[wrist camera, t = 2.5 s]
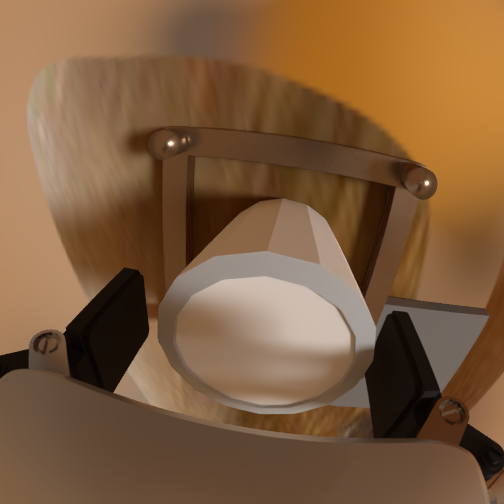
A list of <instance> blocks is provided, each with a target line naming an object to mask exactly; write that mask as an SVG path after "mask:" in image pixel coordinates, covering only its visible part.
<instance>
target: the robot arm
mask: <svg viewBox="0 0 504 504" xmlns="http://www.w3.org/2000/svg"><path fill="white" fill-rule="evenodd" d="M148 334H149V323H148V315H147V307H146V298H145V288H144V278H143V275H141V274H140V272H139V271H138V270H134V269H130V268H124V269H122V270H121V271H120V272H119V273H118V274H117V275H116V276H115V277H114V278H113V279H112V280H111V281H110V282H109V283H108V284H107V285H106V286H105V287H104V288H103V289H102V290H101V291H100V292H99V293H98V294H97V295H96V296H95V297H94V298H93V299H92V300H91V301H90V303H89V304H88V305H87V306H86V307H85V308H84V309H83V310H82V311H81V312H80V313H79V314H78V315H77V316H76V317H75V318H74V319H73V320H72V322H71V323H70V324H69V325H68V326H67V327H66V331H65V332H64V333H63V334H62V333H61V332H59V331H58V330H52V329H51V330H44V331H41V332H39V333H37V334H36V335H35V336H34V337H33V338H32V339H31V341H30V344H29V349H27V350H22V351H18V352H14V353H9V354H5V355H1V356H0V504H504V451H503V449H502V447H501V446H500V445H499V444H497V443H496V442H494V441H493V440H491V439H490V438H488V437H487V436H485V435H484V434H483V433H481V432H480V431H478V430H476V429H475V428H474V427H472V426H471V425H469V424H468V420H469V411H468V409H467V407H466V406H465V404H464V403H463V402H462V401H461V400H459V399H458V398H455V397H452V396H444V397H442V396H441V393H440V388H439V385H438V383H437V380H436V377H435V375H434V372H433V370H432V367H431V365H430V362H429V360H428V357H427V355H426V352H425V350H424V347H423V345H422V343H421V340H420V338H419V336H418V333H417V331H416V329H415V327H414V324H413V322H412V320H411V318H410V316H409V314H408V312H403V311H395V310H394V311H392V313H391V314H388V315H387V316H386V318H385V321H384V323H383V326H382V328H381V330H380V333H379V335H378V337H377V340H376V342H375V348H374V358H373V361H372V363H371V364H370V366H369V367H368V369H367V370H366V372H365V373H364V374H365V380H366V386H367V392H368V398H369V404H370V411H371V418H372V425H373V432H374V438H340V437H321V436H308V435H298V434H288V433H280V432H272V431H265V430H258V429H252V428H246V427H240V426H234V425H229V424H224V423H219V422H214V421H209V420H205V419H201V418H196V417H192V416H188V415H184V414H180V413H176V412H173V411H169V410H165V409H162V408H158V407H155V406H152V405H148V404H145V403H142V402H139V401H135V400H132V399H130V398H127V397H124V396H121V395H118V394H115V393H113V392H114V390H115V389H116V387H117V385H118V384H119V382H120V380H121V379H122V377H123V375H124V374H125V372H126V371H127V369H128V367H129V366H130V364H131V362H132V361H133V359H134V357H135V356H136V354H137V353H138V351H139V349H140V348H141V346H142V345H143V343H144V341H145V340H146V338H147V336H148Z"/></svg>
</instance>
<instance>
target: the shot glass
mask: <svg viewBox="0 0 504 504" xmlns="http://www.w3.org/2000/svg"><path fill="white" fill-rule="evenodd" d="M375 337H376V326H375V324H374V321H373V319H372V317H371V314H370V312H369V309H368V307H367V305H366V302H365V300H364V298H363V296H362V293H361V291H360V289H359V287H358V284H357V282H356V280H355V278H354V276H353V273H352V271H351V269H350V267H349V265H348V263H347V261H346V258H345V256H344V254H343V252H342V250H341V248H340V246H339V244H338V242H337V240H336V238H335V236H334V234H333V232H332V230H331V229H330V227H329V225H328V223H327V221H326V220H325V218H324V217H322V216H321V215H320V214H318V213H317V212H316V211H314V210H313V209H312V208H310V207H309V206H308V205H306V204H303V203H299V202H295V201H292V200H288V199H284V198H282V199H274V200H266V201H259V202H258V203H256V204H254V205H252V206H251V207H249V208H247V209H246V210H244V211H242V212H241V213H239V214H238V215H237V216H236V217H235V218H234V219H233V220H232V221H231V222H230V223H229V224H228V225H227V226H226V227H225V228H224V229H223V230H222V231H221V232H220V233H219V234H218V235H217V236H216V237H215V238H214V239H213V240H212V241H211V242H210V243H209V244H208V245H207V246H206V247H205V248H204V249H203V250H202V252H201V253H200V254H199V255H198V256H197V257H196V258H195V259H194V260H193V261H192V262H191V263H190V264H189V265H188V266H187V267H186V268H185V269H184V270H183V271H182V272H181V273H180V274H179V275H178V276H177V277H176V279H175V280H174V282H173V284H172V285H171V287H170V288H169V290H168V292H167V293H166V295H165V296H164V298H163V300H162V301H161V303H160V305H159V306H158V340H159V342H160V344H161V346H162V348H163V350H164V352H165V354H166V356H167V359H168V361H169V363H170V365H171V366H172V367H173V368H174V369H175V370H176V371H177V372H178V373H179V374H180V375H181V376H182V377H183V378H184V379H185V380H186V381H187V382H188V383H189V384H190V385H191V386H192V387H193V388H194V389H195V390H197V391H199V392H201V393H203V394H205V395H206V396H208V397H210V398H212V399H214V400H216V401H218V402H220V403H222V404H224V405H226V406H229V407H233V408H237V409H241V410H245V411H250V412H254V413H258V414H295V413H299V412H303V411H307V410H310V409H314V408H317V407H321V406H324V405H328V404H329V403H331V402H333V401H334V400H336V399H337V398H339V397H340V396H342V395H343V394H345V393H346V392H348V391H349V390H351V389H352V388H354V387H355V386H356V385H357V384H358V382H359V381H360V379H361V378H362V376H363V375H364V373H365V372H366V370H367V369H368V367H369V366H370V364H371V363H372V361H373V358H374V348H375Z"/></svg>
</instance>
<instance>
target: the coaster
mask: <svg viewBox="0 0 504 504" xmlns="http://www.w3.org/2000/svg"><path fill="white" fill-rule="evenodd" d="M394 310H395V311H403V312H408V314H409V316H410V318H411V320H412V322H413V324H414V327H415V329H416V331H417V333H418V336H419V338H420V340H421V343H422V345H423V347H424V350H425V352H426V355H427V357H428V360H429V362H430V365H431V367H432V370H433V372H434V375H435V377H436V380H437V383H438V385H439V388H440V393H441V392H442V390H443V389H444V388H445V386H446V385H447V383H448V382H449V381H450V379H451V378H452V376H453V375H454V374H455V372H456V371H457V369H458V368H459V366H460V365H461V363H462V362H463V360H464V359H465V357H466V356H467V354H468V352H469V351H470V349H471V348H472V346H473V344H474V343H475V341H476V339H477V338H478V336H479V334H480V332H481V331H482V329H483V327H484V325H485V324H486V322H487V320H488V318H489V314H488V313H487V311H486V310H485V309H484V308H475V307H466V306H458V305H449V304H442V303H433V302H426V301H418V300H410V299H403V298H395V297H388V298H387V300H386V303H385V306H384V308H383V311H382V313H381V316H380V318H379V320H378V323H377V325H376V337H375V342H376V340H377V337H378V335H379V333H380V330H381V328H382V326H383V323H384V321H385V318H386V316H387V315H388V314H391V313H392V311H394ZM328 405H333V406H347V407H366V408H370V404H369V398H368V392H367V386H366V380H365V377H364V378H363V379H361V380H360V381H359V382H358V384H357V385H356V386H355V387H354V388H352V389H351V390H349V391H348V392H346V393H345V394H343V395H342V396H340V397H339V398H337V399H336V400H334V401H333V402H331V403H329V404H328Z"/></svg>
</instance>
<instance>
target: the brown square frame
mask: <svg viewBox="0 0 504 504" xmlns="http://www.w3.org/2000/svg"><path fill="white" fill-rule="evenodd" d="M148 150H149V153H150V154H151V155H152V156H153V157H154V158H155V159H158V160H163V172H162V217H163V252H164V273H165V289H166V293H167V292H168V290H169V288H170V287H171V285H172V284H173V282H174V280H175V279H176V277H177V276H178V275H179V274H180V273H181V272H182V271H183V270H184V269H185V268H186V267H187V266H188V265H189V264H190V263H191V262H192V232H193V194H194V170H195V156H204V157H215V158H226V159H235V160H244V161H253V162H261V163H269V164H276V165H283V166H290V167H297V168H303V169H310V170H316V171H322V172H327V173H333V174H338V175H344V176H349V177H354V178H359V179H364V180H369V181H373V182H378V183H383V184H387V185H389V188H388V193H387V197H386V202H385V206H384V210H383V214H382V218H381V222H380V226H379V230H378V233H377V237H376V241H375V244H374V248H373V252H372V255H371V259H370V262H369V265H368V269H367V272H366V275H365V278H364V281H363V285H362V288H361V293H362V296H363V298H364V300H365V302H366V305H367V307H368V309H369V312H370V314H371V317H372V319H373V321H374V324H375V326H376V325H377V323H378V320H379V318H380V316H381V313H382V311H383V308H384V306H385V303H386V300H387V298H388V295H389V292H390V290H391V287H392V284H393V282H394V279H395V276H396V273H397V270H398V267H399V264H400V261H401V258H402V255H403V252H404V249H405V246H406V242H407V239H408V236H409V232H410V229H411V226H412V222H413V218H414V215H415V211H416V207H417V203H418V199H422V200H424V199H428V198H430V197H432V196H433V195H434V193H435V192H436V189H437V179H436V177H435V175H434V173H433V172H431V171H430V170H428V169H426V166H425V165H423V164H420V163H418V162H415V161H411V160H408V159H404V158H400V157H396V156H392V155H388V154H384V153H380V152H375V151H371V150H366V149H362V148H357V147H352V146H347V145H342V144H337V143H331V142H326V141H320V140H314V139H308V138H301V137H295V136H288V135H280V134H272V133H264V132H255V131H245V130H234V129H222V128H207V127H186V126H170V127H164V130H158V131H156V132H154V133H153V134H152V135H151V136H150V138H149V140H148ZM159 343H160V342H159ZM160 345H161V344H160ZM364 377H365V374H364V375H363V376H362V378H361V379H363V378H364ZM361 379H360V380H361Z"/></svg>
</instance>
